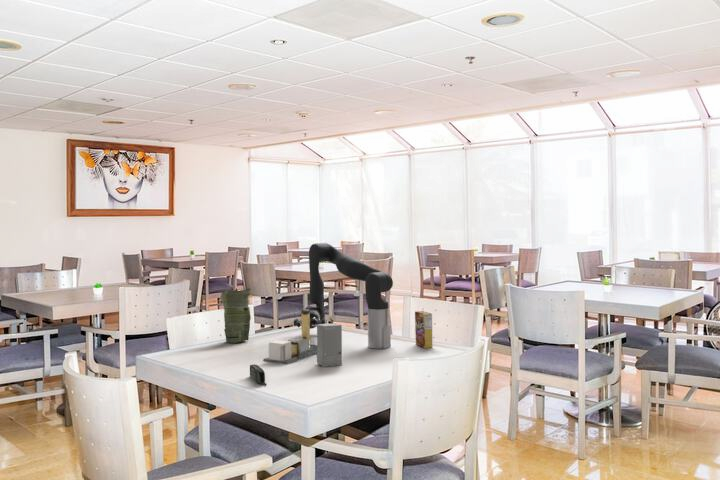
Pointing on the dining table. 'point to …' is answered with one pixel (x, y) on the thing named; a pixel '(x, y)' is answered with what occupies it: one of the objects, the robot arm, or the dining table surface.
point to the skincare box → (329, 344)
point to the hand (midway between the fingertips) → (308, 324)
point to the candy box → (423, 329)
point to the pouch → (236, 315)
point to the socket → (280, 350)
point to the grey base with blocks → (302, 351)
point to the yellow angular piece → (303, 331)
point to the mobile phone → (257, 374)
